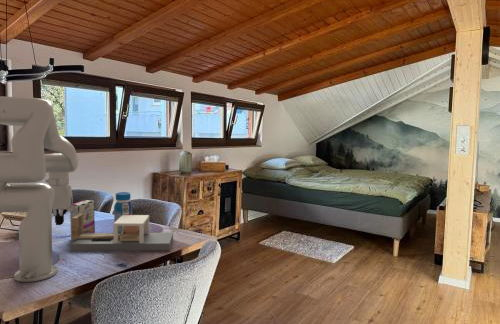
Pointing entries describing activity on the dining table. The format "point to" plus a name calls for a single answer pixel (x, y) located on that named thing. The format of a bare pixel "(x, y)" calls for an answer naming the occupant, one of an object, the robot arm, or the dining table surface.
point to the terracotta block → (131, 229)
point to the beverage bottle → (122, 207)
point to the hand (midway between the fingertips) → (59, 224)
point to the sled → (78, 233)
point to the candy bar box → (84, 215)
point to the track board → (114, 244)
